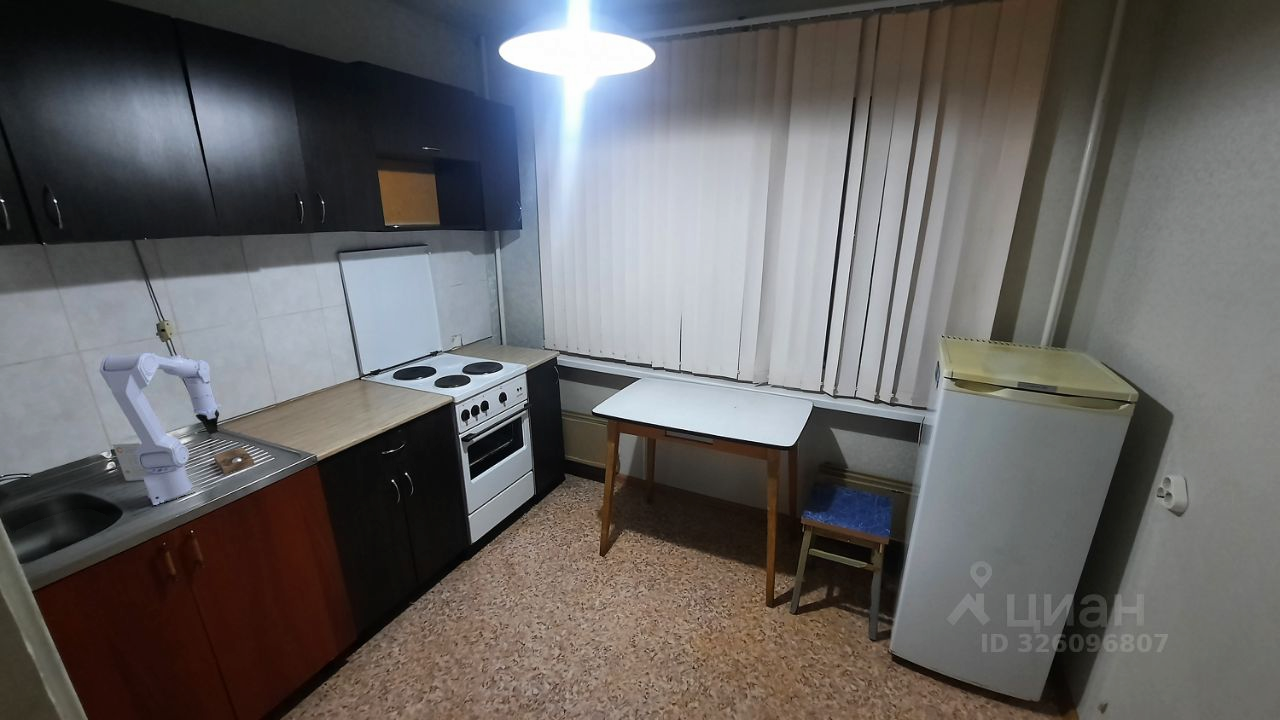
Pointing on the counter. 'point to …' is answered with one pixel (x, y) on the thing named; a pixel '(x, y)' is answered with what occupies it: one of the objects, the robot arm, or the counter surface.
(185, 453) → the robot arm
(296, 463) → the counter surface
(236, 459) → the steel ball
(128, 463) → the small box
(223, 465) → the hole plate
